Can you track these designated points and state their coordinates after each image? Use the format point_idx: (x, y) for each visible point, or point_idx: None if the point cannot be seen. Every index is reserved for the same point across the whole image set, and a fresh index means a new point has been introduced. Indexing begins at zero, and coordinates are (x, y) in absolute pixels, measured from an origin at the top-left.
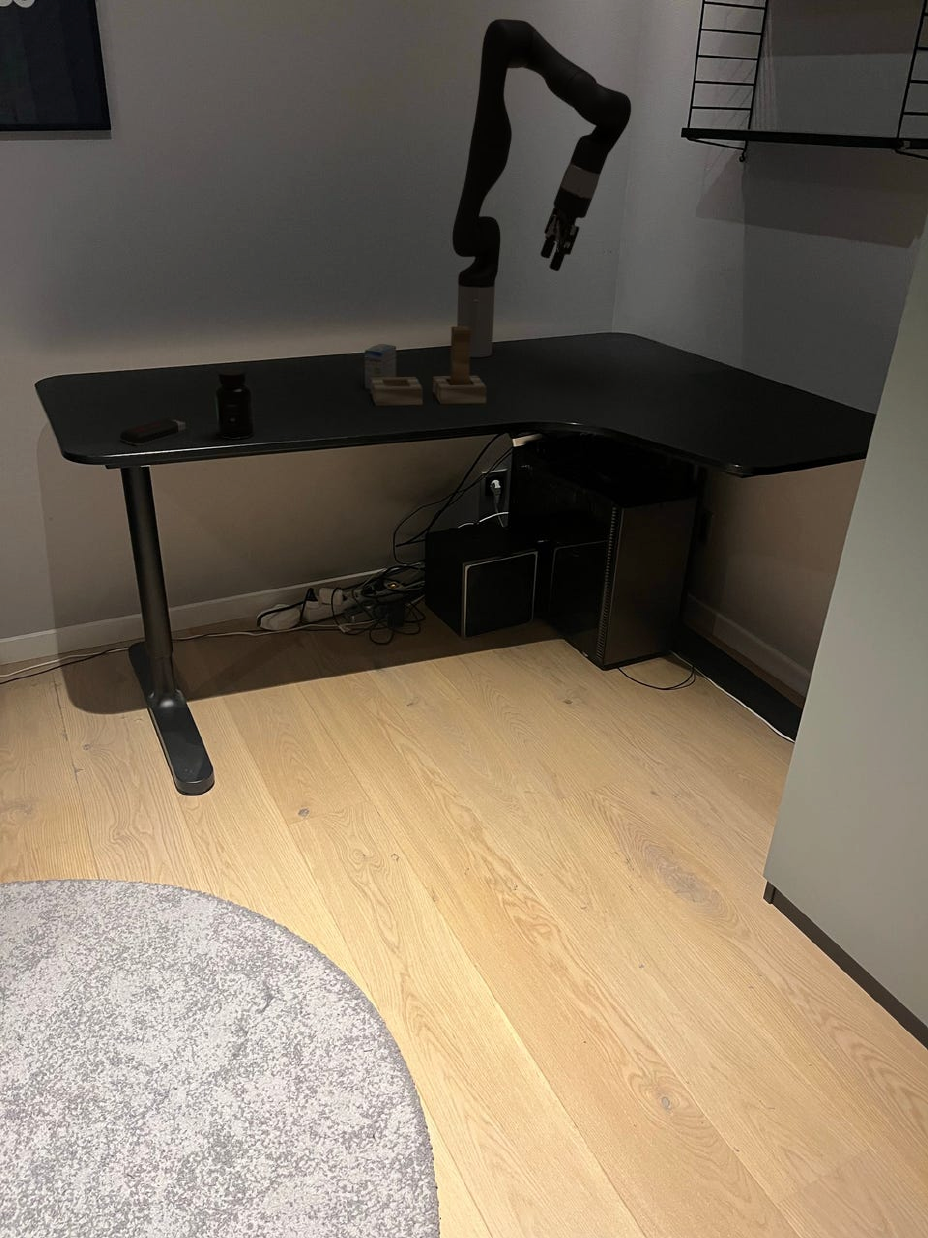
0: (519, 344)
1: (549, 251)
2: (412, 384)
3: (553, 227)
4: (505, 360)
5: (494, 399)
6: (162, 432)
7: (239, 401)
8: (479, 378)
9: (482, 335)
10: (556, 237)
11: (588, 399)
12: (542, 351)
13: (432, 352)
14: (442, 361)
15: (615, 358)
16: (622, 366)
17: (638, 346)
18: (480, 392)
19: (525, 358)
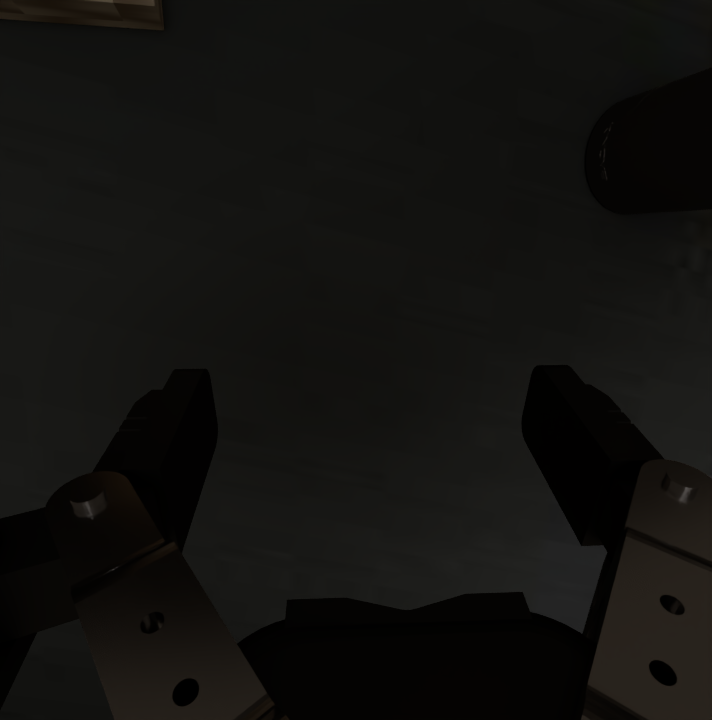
0: (706, 325)
1: (544, 451)
2: None
3: (583, 651)
4: (544, 239)
5: (47, 67)
6: None
7: None
8: (106, 2)
9: (635, 159)
10: (141, 584)
11: (66, 387)
12: (622, 372)
13: (676, 16)
14: (562, 18)
15: (520, 546)
16: (438, 549)
17: None
18: None
19: (557, 306)
